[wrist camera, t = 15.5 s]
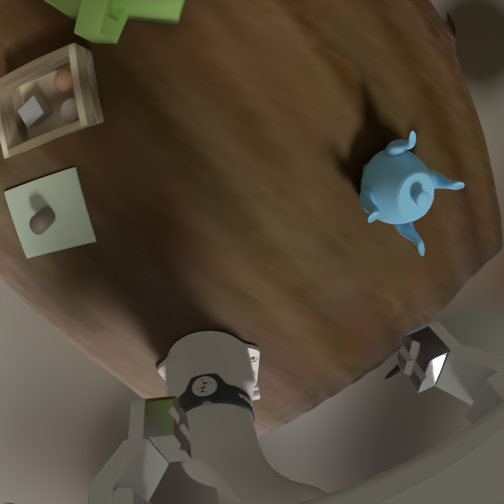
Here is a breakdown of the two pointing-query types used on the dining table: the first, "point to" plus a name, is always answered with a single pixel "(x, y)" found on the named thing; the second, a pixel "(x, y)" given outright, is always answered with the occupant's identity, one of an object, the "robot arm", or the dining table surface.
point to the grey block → (35, 111)
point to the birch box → (48, 98)
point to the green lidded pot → (116, 15)
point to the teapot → (400, 188)
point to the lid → (50, 213)
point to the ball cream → (69, 110)
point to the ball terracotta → (63, 80)
